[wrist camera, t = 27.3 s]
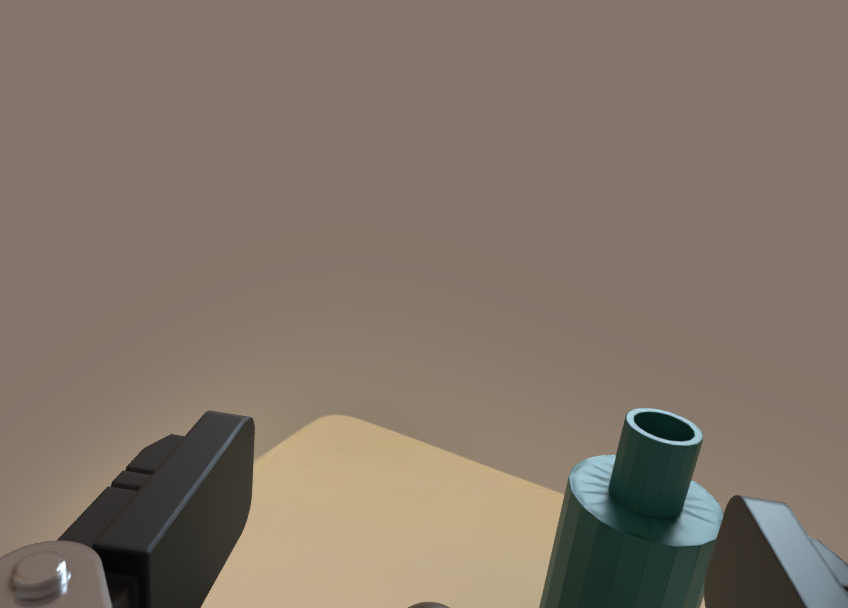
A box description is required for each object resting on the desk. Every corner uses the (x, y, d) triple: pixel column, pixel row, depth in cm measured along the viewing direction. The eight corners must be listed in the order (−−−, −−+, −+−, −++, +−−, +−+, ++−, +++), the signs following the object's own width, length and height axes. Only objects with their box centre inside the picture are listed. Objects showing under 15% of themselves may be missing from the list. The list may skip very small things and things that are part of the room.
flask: (563, 630, 44) (624, 377, 38) (678, 706, 39) (767, 433, 34) (496, 702, 38) (556, 417, 32) (622, 800, 34) (717, 491, 28)
